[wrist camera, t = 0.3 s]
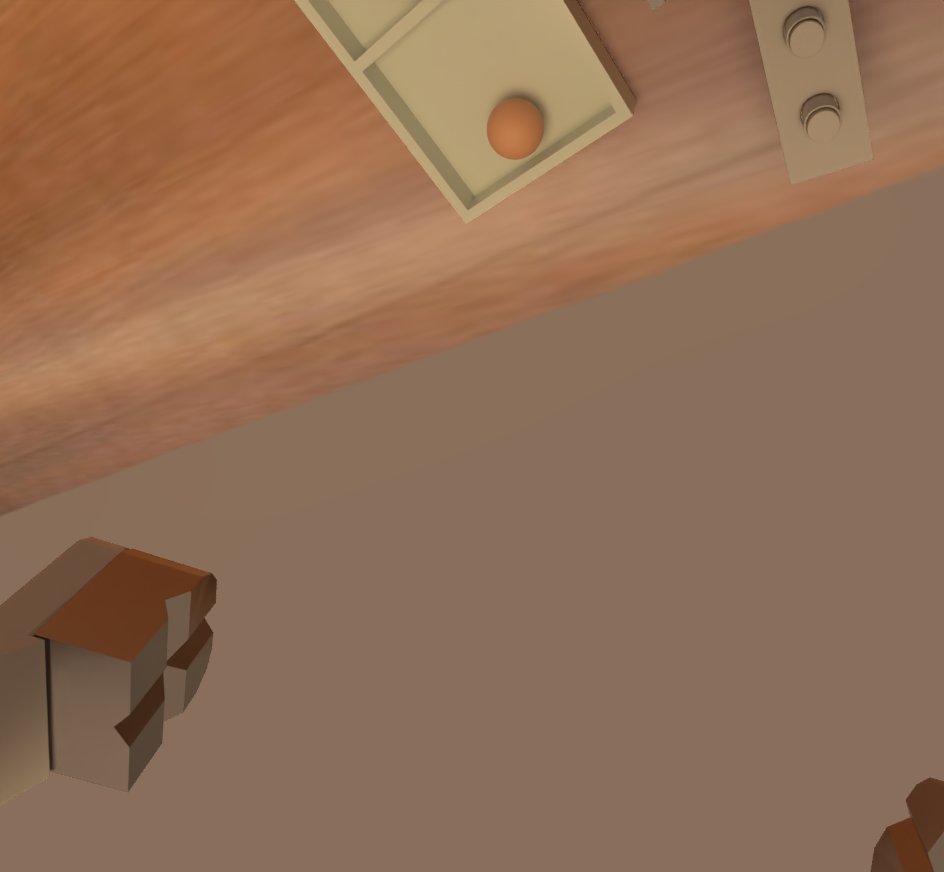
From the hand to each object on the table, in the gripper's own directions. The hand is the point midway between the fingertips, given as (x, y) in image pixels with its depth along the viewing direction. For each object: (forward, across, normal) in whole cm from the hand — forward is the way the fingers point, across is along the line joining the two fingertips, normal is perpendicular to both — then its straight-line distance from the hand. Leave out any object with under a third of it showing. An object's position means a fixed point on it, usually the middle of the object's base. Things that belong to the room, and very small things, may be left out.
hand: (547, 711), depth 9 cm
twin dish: (+51, +14, -10) cm, 54 cm away
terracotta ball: (+52, +7, -4) cm, 53 cm away
